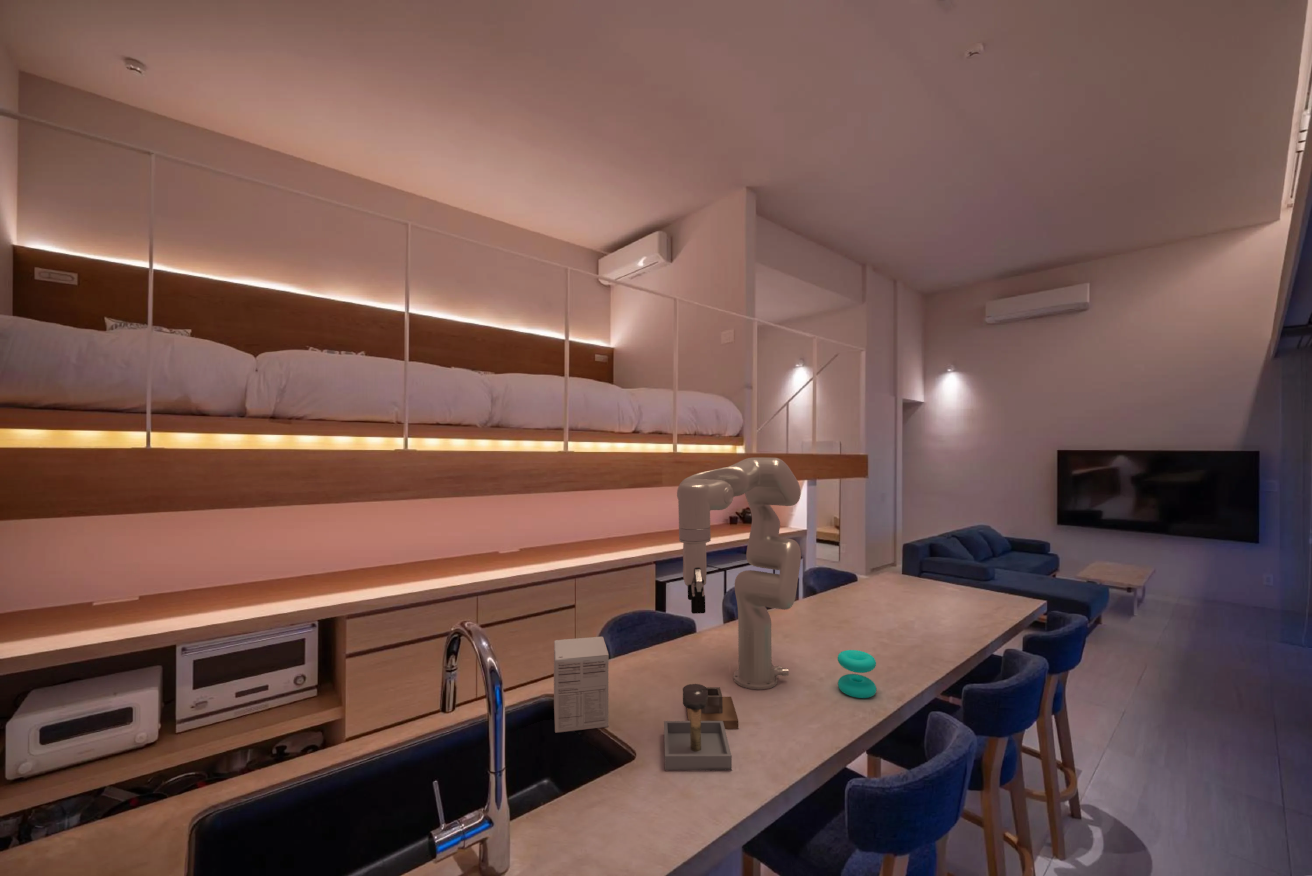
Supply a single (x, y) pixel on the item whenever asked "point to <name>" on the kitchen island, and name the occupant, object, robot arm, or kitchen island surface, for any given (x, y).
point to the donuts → (854, 682)
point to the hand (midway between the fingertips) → (696, 606)
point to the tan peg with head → (695, 711)
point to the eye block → (719, 709)
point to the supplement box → (580, 684)
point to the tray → (708, 758)
